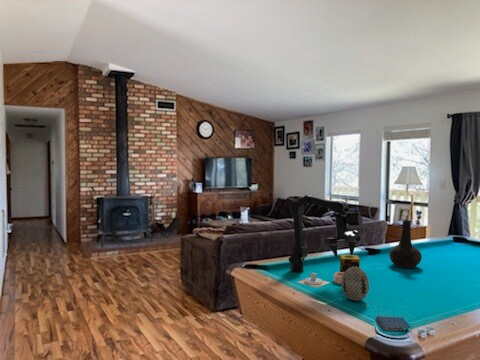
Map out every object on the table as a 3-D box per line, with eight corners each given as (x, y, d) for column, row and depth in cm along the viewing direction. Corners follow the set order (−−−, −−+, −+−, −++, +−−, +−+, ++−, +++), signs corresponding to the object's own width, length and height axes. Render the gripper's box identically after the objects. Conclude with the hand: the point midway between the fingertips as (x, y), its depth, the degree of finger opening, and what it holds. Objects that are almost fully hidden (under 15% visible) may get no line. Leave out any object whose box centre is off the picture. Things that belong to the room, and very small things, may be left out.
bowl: (330, 283, 192) (331, 274, 192) (340, 279, 198) (340, 271, 198) (346, 287, 186) (347, 278, 185) (355, 283, 192) (356, 274, 192)
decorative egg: (353, 306, 160) (354, 271, 160) (335, 297, 171) (336, 264, 170) (374, 302, 165) (375, 268, 164) (356, 294, 176) (357, 262, 175)
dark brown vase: (388, 268, 222) (390, 221, 221) (389, 261, 239) (390, 217, 238) (422, 271, 215) (423, 223, 214) (420, 264, 232) (421, 219, 231)
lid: (300, 281, 191) (301, 273, 190) (311, 278, 197) (311, 269, 197) (315, 286, 184) (316, 277, 184) (326, 282, 191) (326, 273, 190)
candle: (360, 277, 202) (360, 259, 202) (340, 276, 204) (341, 258, 204) (358, 272, 212) (358, 255, 212) (339, 271, 214) (339, 254, 214)
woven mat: (374, 320, 147) (374, 314, 147) (402, 321, 146) (402, 316, 146) (382, 331, 137) (382, 326, 137) (412, 333, 136) (412, 327, 136)
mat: (296, 283, 191) (296, 281, 191) (310, 278, 199) (310, 277, 199) (316, 289, 182) (316, 287, 182) (330, 284, 191) (330, 282, 190)
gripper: (335, 228, 183) (337, 261, 182) (366, 224, 189) (369, 256, 188) (322, 227, 193) (325, 257, 192) (352, 223, 199) (355, 253, 199)
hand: (344, 256), depth 193 cm, fingers open, 9 cm apart
